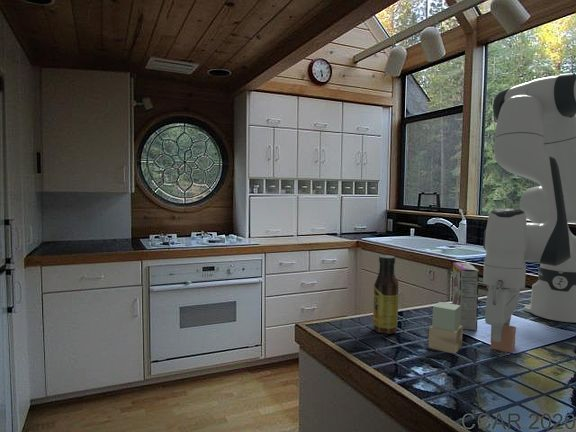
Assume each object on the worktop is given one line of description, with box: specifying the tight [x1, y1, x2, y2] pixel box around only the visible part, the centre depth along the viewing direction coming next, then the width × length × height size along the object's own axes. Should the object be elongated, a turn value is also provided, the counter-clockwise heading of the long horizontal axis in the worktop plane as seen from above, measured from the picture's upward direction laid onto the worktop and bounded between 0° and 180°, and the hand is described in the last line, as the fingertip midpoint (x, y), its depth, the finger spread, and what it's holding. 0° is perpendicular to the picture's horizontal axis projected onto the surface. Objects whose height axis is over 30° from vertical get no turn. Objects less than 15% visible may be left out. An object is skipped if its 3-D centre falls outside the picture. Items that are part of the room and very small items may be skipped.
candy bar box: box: [451, 261, 480, 331], centre depth 118 cm, size 11×5×16 cm, turn 168°
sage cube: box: [431, 301, 461, 332], centre depth 100 cm, size 5×5×5 cm
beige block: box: [428, 325, 464, 355], centre depth 101 cm, size 6×6×5 cm
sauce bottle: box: [372, 254, 399, 335], centre depth 111 cm, size 7×6×20 cm
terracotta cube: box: [489, 325, 517, 354], centre depth 101 cm, size 4×4×5 cm
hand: (501, 335), depth 101 cm, fingers open, 8 cm apart
